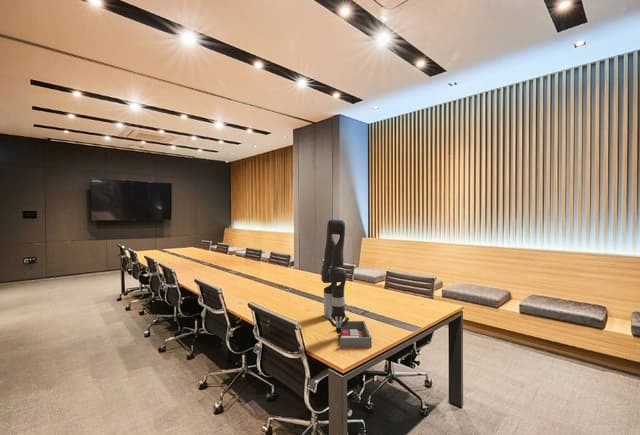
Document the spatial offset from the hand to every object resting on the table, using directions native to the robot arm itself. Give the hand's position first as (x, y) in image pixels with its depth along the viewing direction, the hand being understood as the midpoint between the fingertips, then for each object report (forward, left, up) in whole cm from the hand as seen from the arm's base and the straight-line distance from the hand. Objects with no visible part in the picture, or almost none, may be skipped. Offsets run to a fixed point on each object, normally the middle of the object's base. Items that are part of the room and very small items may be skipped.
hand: (338, 333), depth 176 cm
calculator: (+3, +6, -3) cm, 8 cm away
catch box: (0, +9, -2) cm, 9 cm away
